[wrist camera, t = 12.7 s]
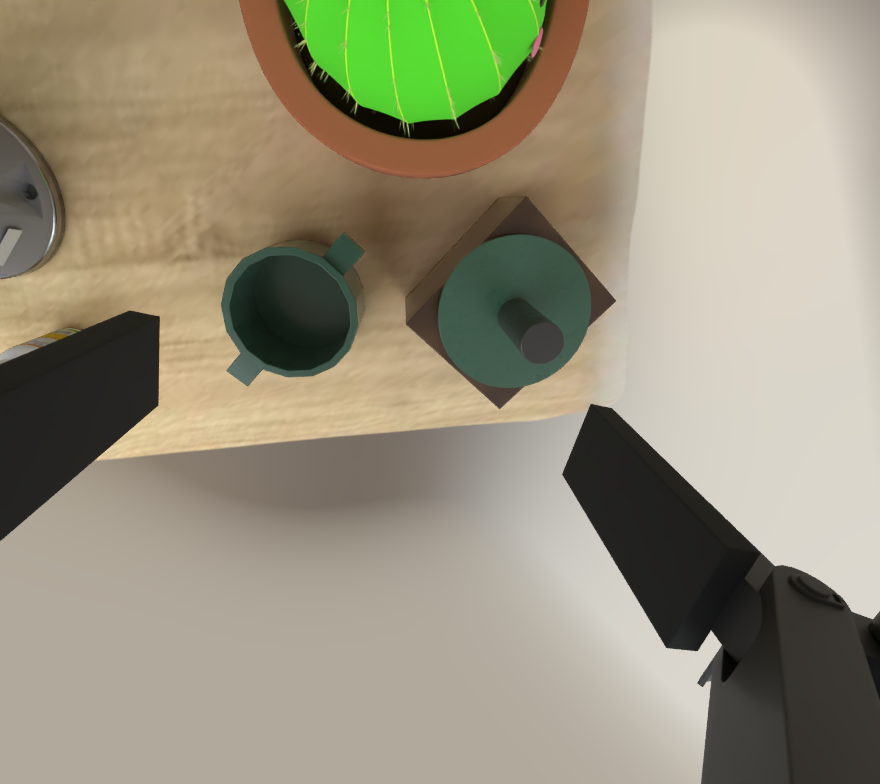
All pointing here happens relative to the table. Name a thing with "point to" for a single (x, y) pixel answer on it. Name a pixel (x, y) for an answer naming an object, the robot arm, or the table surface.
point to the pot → (293, 308)
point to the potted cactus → (416, 74)
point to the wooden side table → (495, 222)
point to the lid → (514, 310)
